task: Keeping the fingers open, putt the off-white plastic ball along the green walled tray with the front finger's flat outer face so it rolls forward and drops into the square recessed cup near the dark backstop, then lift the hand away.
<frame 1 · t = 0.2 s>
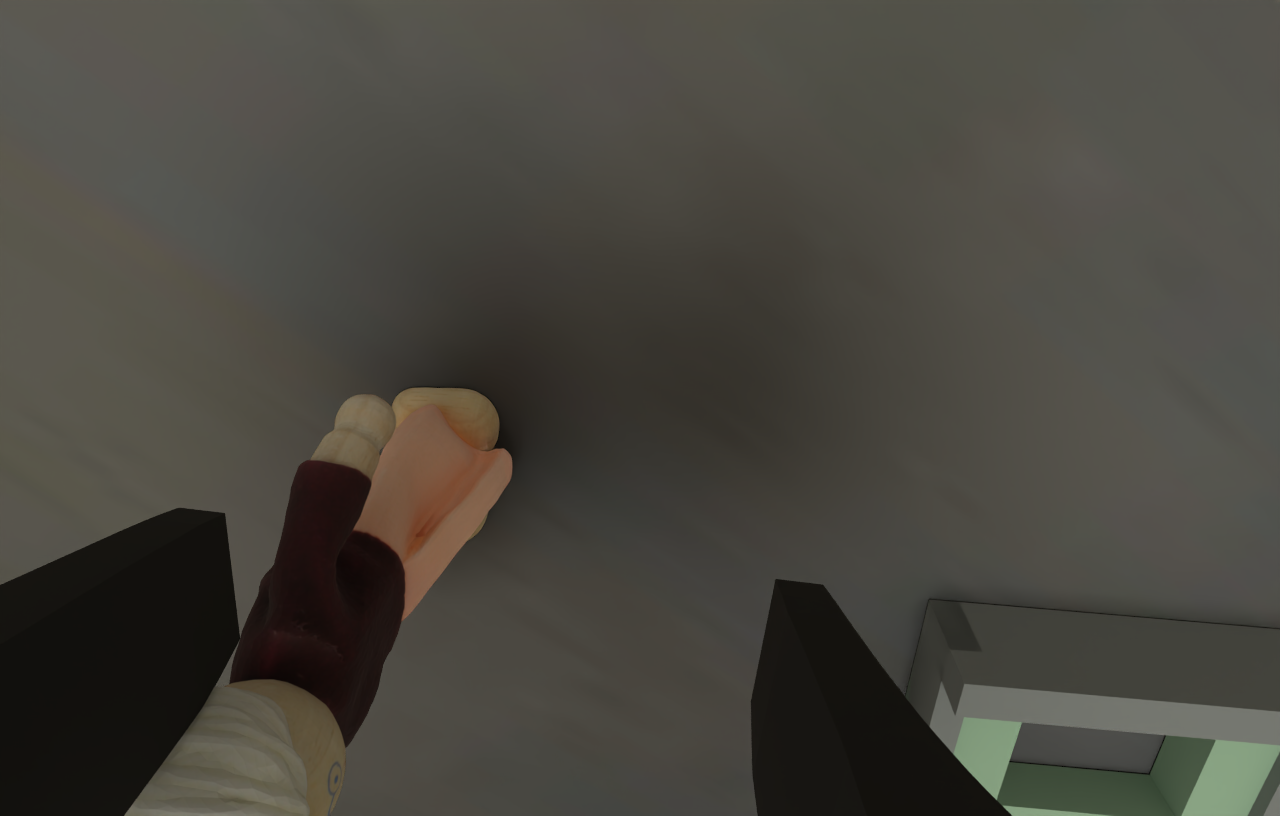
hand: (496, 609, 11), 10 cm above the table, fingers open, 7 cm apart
grandmother figurine: (447, 440, 21), on the table, touching gripper
green walled tray: (1049, 803, 25), on the table
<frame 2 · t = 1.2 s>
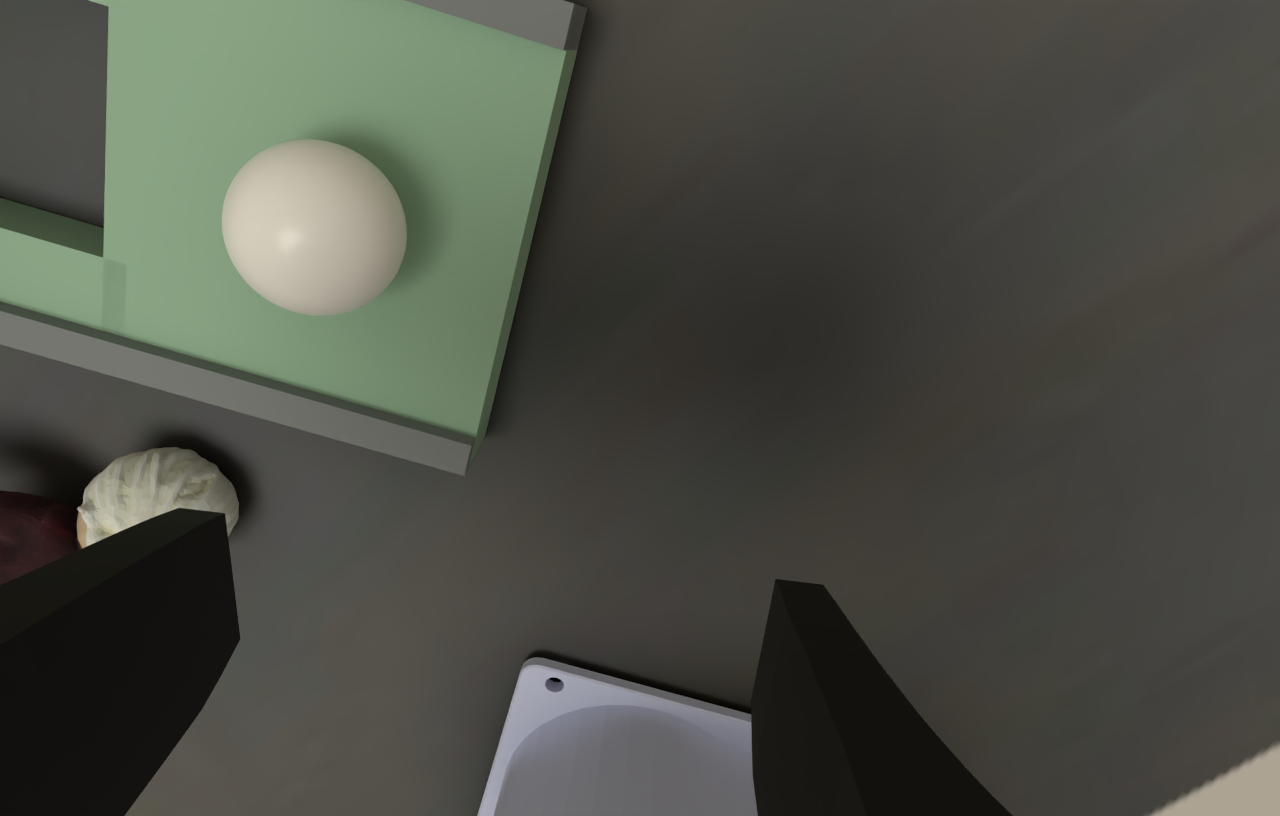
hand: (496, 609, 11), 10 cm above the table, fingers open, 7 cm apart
ball: (317, 229, 15), point 3 cm above the table, touching green walled tray
green walled tray: (221, 152, 18), on the table
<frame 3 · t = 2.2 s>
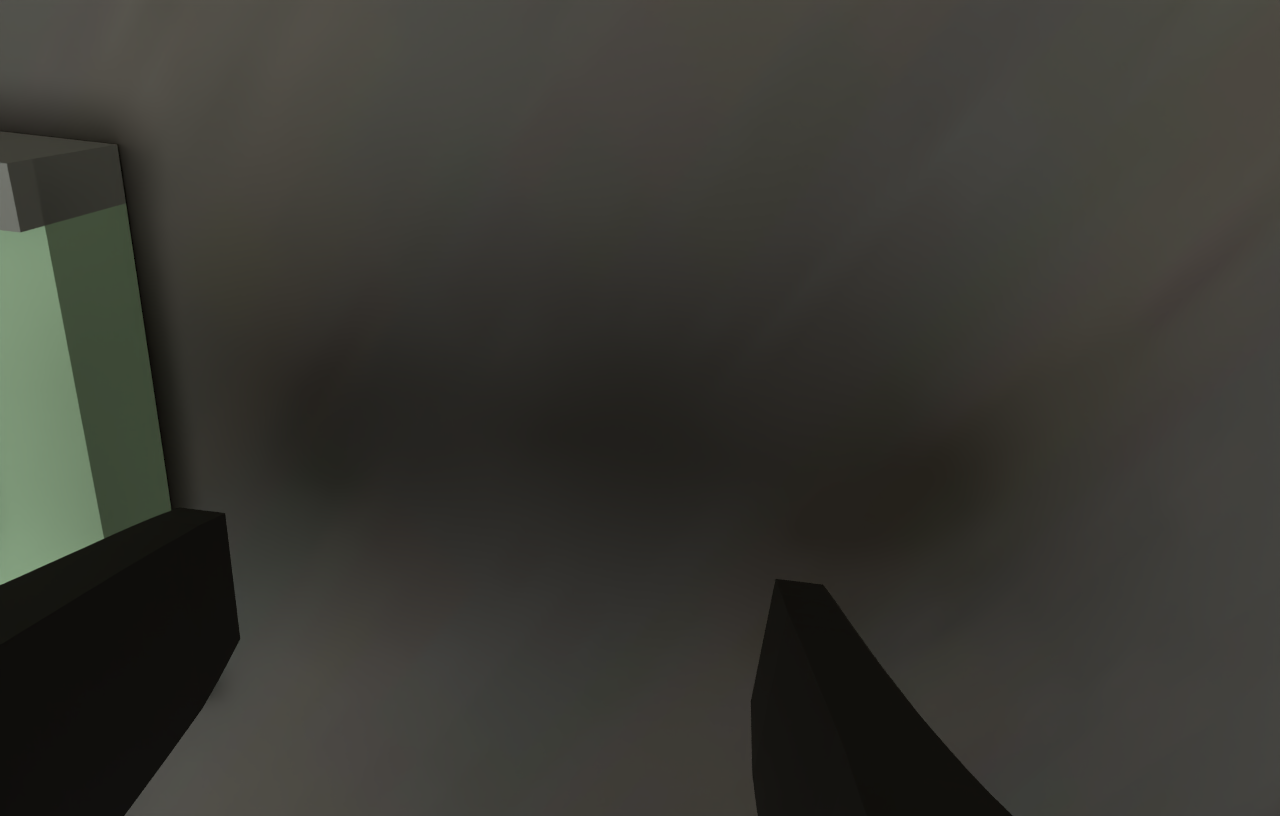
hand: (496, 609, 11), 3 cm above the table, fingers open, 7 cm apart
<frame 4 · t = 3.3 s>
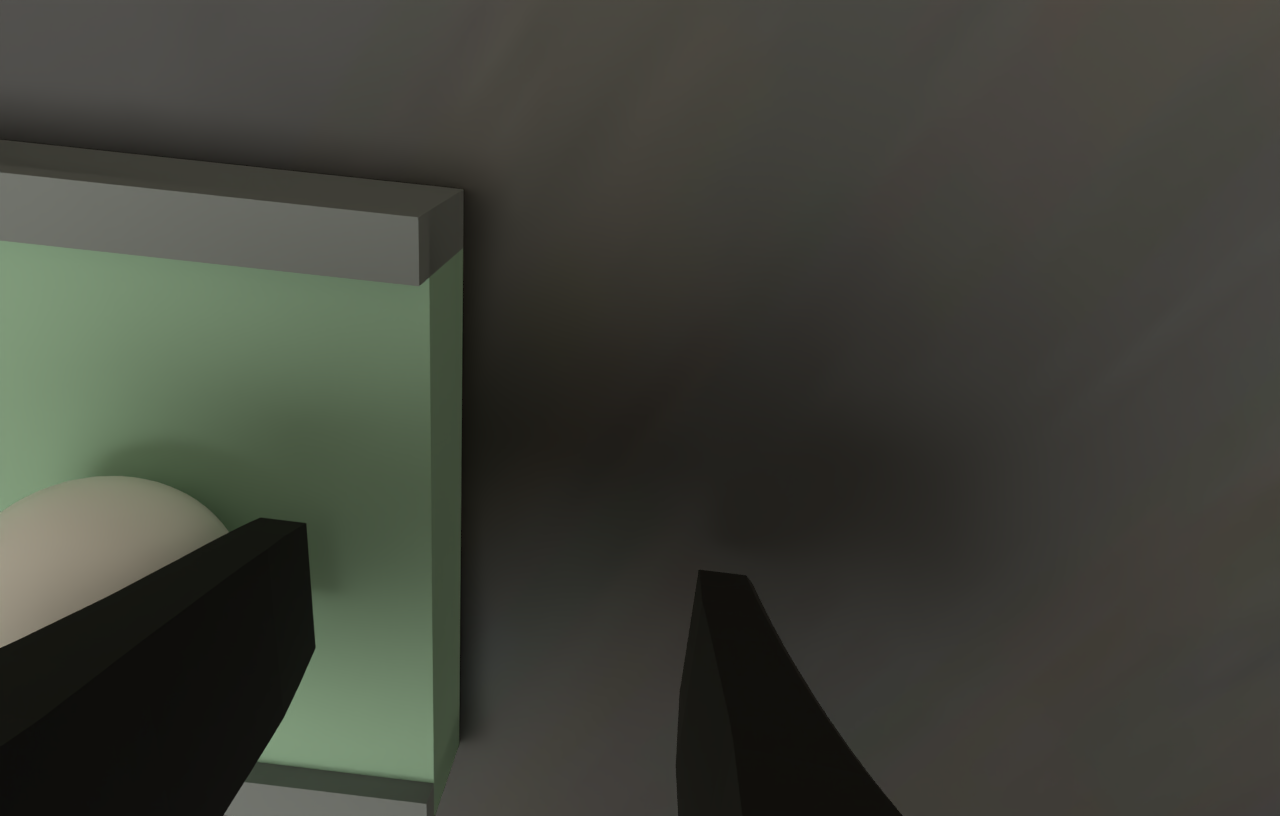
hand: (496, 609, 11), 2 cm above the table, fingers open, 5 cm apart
ball: (104, 604, 10), point 3 cm above the table, tilted 6°, touching gripper, green walled tray
green walled tray: (29, 459, 13), on the table
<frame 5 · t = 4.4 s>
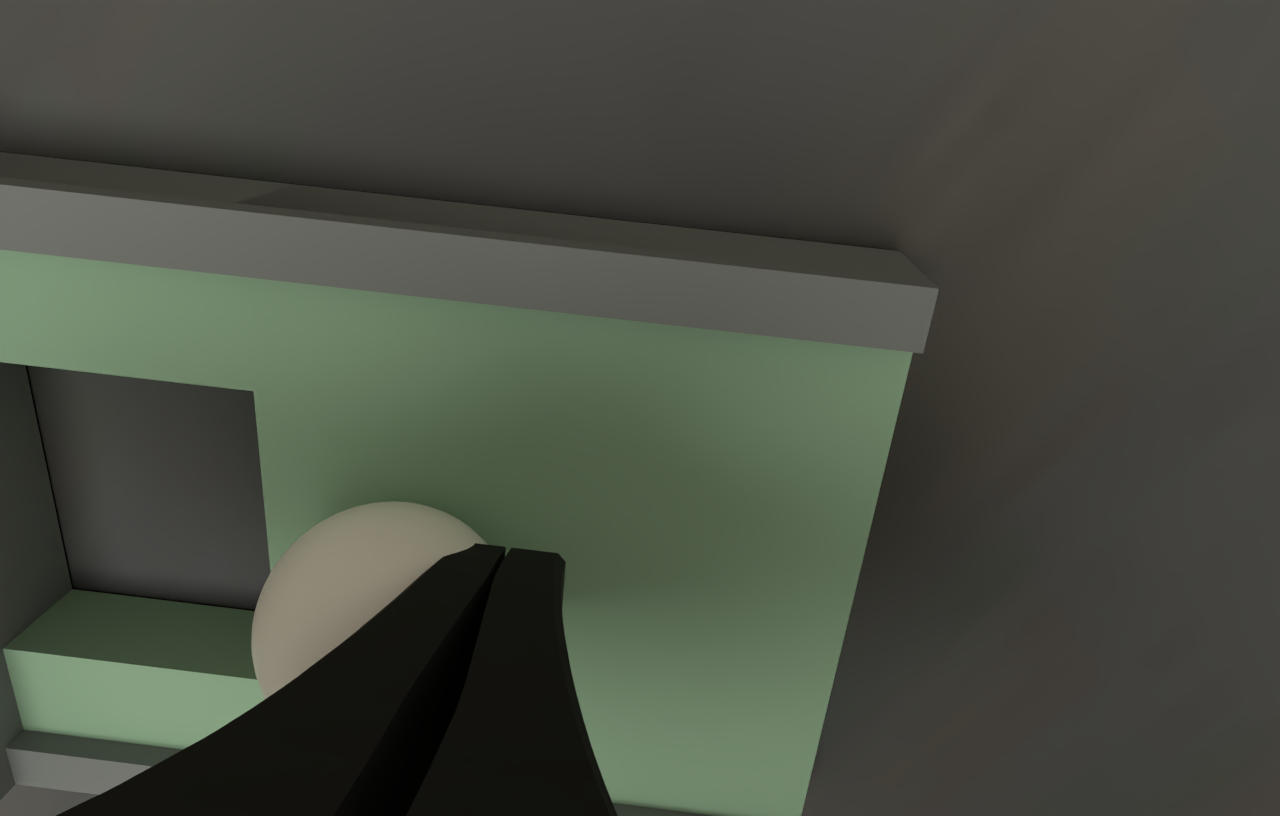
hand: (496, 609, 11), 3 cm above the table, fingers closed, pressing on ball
ball: (389, 626, 11), point 3 cm above the table, tilted 98°, touching gripper, green walled tray
green walled tray: (405, 506, 14), on the table
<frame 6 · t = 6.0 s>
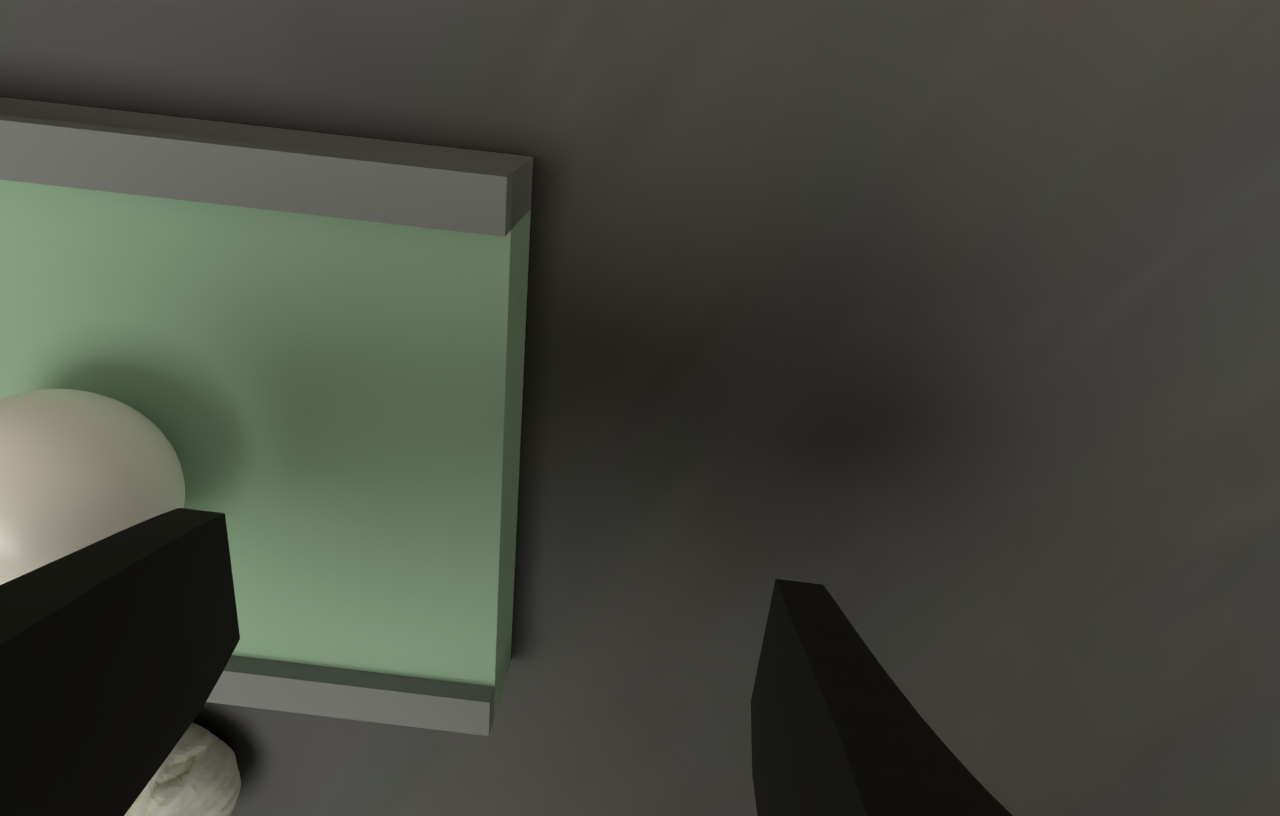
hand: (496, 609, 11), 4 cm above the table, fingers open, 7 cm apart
ball: (60, 498, 12), point 3 cm above the table, tilted 96°, touching green walled tray
green walled tray: (135, 398, 15), on the table
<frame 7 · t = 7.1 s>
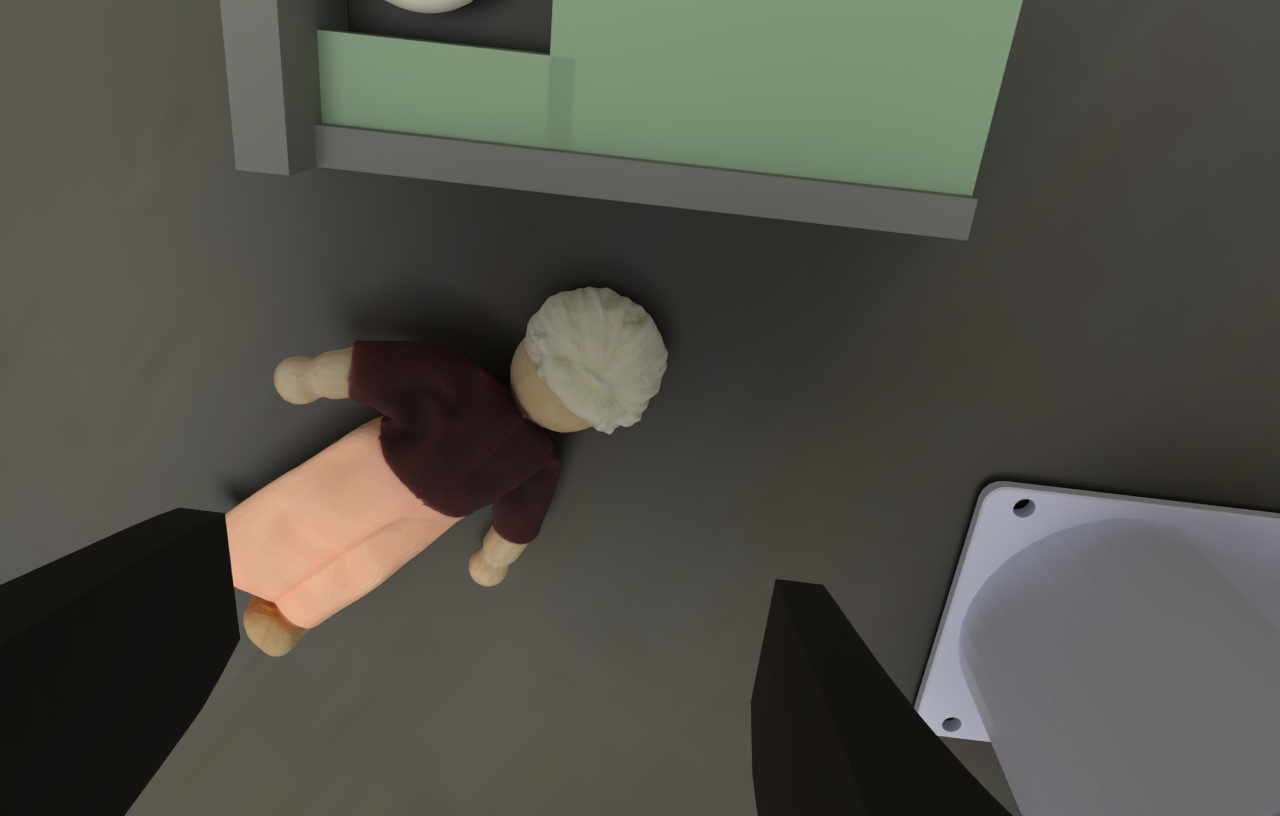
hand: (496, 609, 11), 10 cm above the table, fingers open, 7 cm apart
grandmother figurine: (221, 580, 21), point 2 cm above the table
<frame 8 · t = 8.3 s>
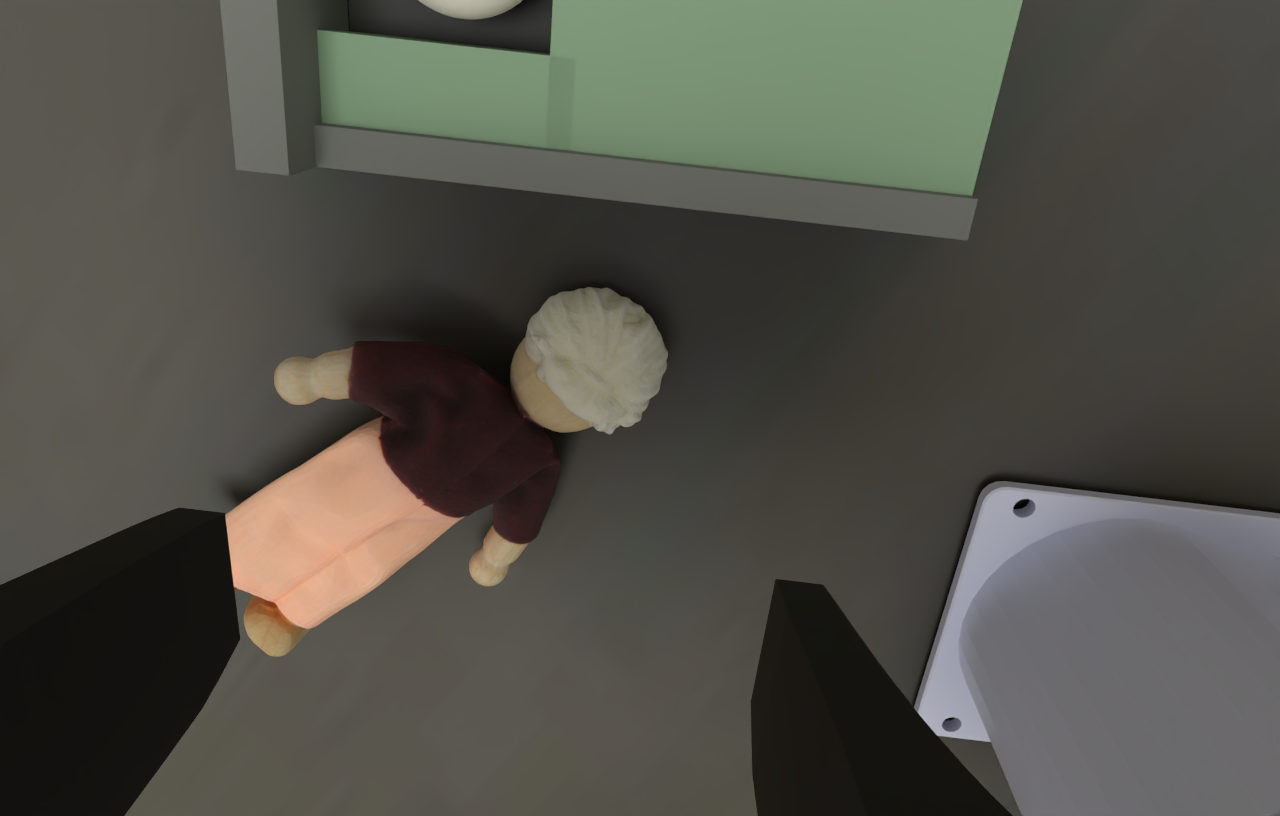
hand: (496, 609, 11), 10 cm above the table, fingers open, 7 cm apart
grandmother figurine: (221, 580, 21), point 2 cm above the table
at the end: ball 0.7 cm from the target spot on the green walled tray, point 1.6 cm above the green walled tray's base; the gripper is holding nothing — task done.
